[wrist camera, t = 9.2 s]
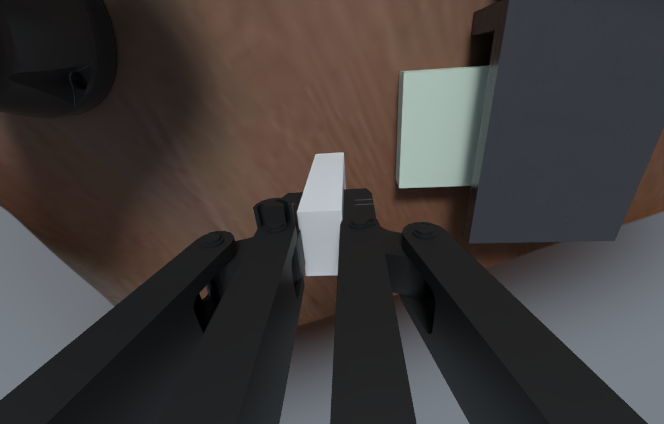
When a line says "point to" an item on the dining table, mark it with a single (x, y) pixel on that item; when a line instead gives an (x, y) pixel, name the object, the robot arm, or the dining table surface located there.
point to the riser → (565, 118)
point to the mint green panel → (439, 125)
